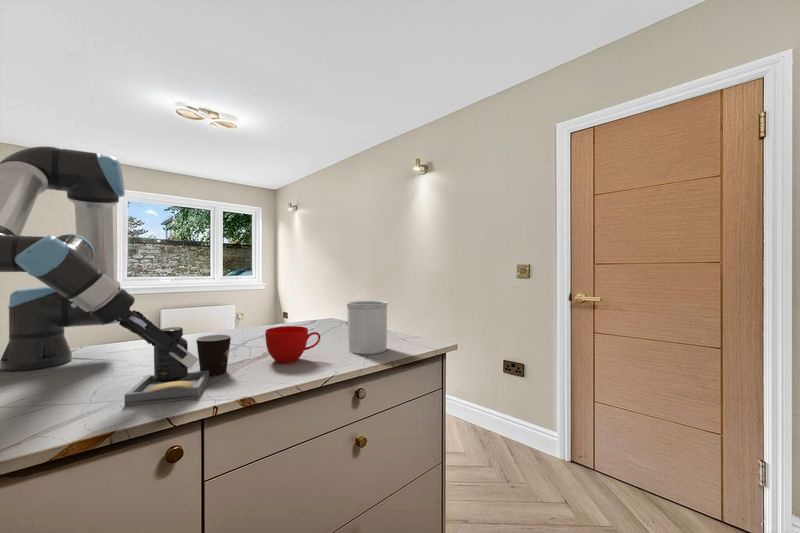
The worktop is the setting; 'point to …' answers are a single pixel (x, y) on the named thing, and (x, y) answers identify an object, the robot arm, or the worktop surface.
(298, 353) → the ceramic cup
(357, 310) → the utensil holder
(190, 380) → the tray
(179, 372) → the supplement bottle
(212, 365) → the coffee mug
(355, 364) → the worktop surface
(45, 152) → the robot arm
